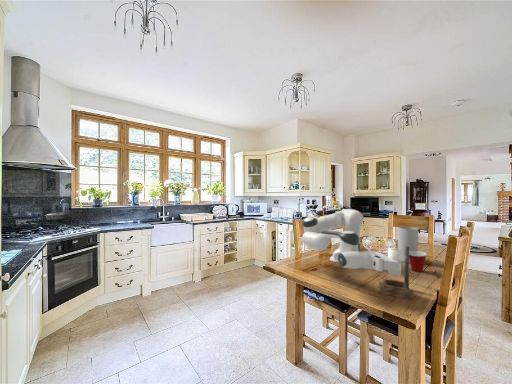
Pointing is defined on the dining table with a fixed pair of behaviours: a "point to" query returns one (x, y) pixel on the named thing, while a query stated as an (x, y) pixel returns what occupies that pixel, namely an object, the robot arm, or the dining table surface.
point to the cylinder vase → (407, 240)
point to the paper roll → (395, 255)
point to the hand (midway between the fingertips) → (396, 259)
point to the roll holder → (398, 283)
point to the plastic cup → (417, 260)
